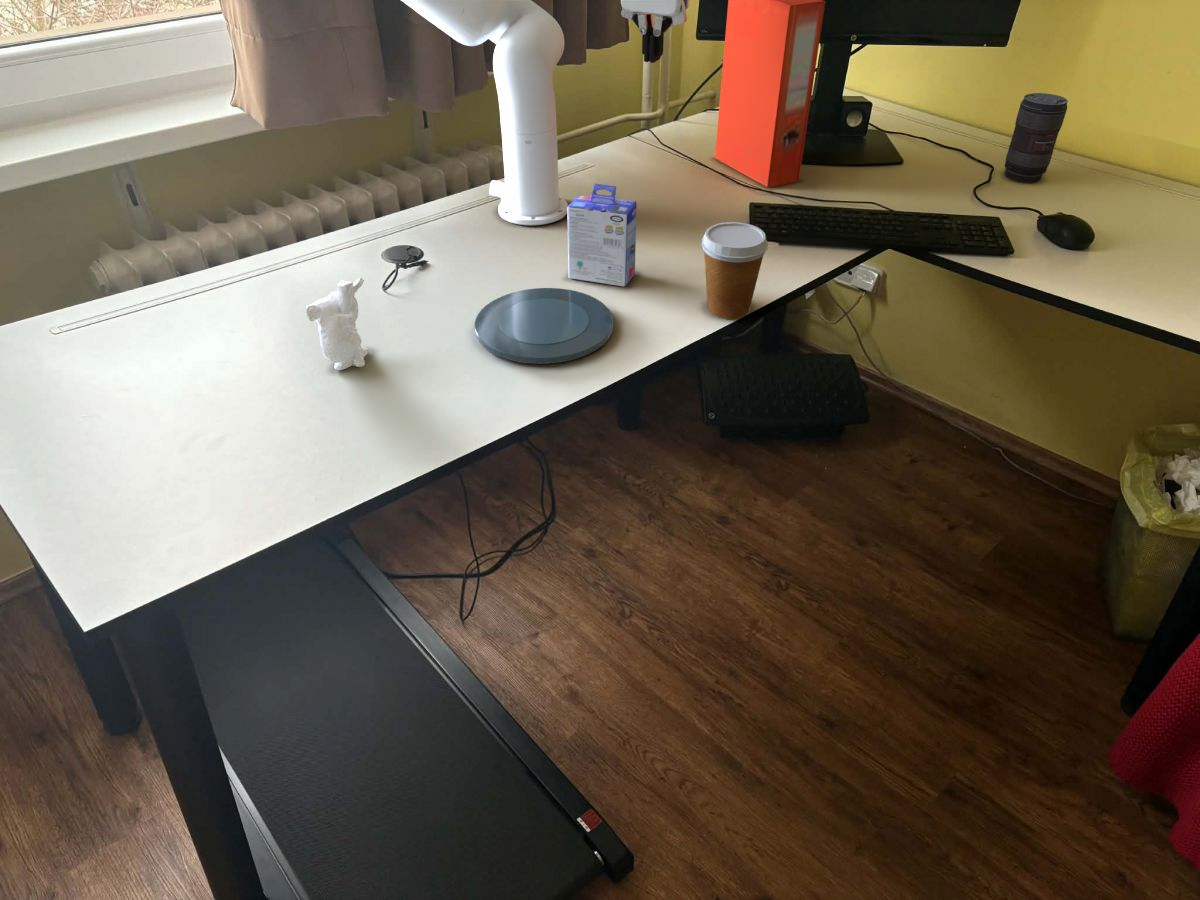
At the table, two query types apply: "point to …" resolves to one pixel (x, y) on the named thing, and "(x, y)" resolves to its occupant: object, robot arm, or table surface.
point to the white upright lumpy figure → (339, 326)
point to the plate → (543, 325)
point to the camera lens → (1034, 136)
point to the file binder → (767, 86)
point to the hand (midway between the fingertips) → (652, 60)
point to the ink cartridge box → (601, 238)
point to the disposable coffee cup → (732, 267)
